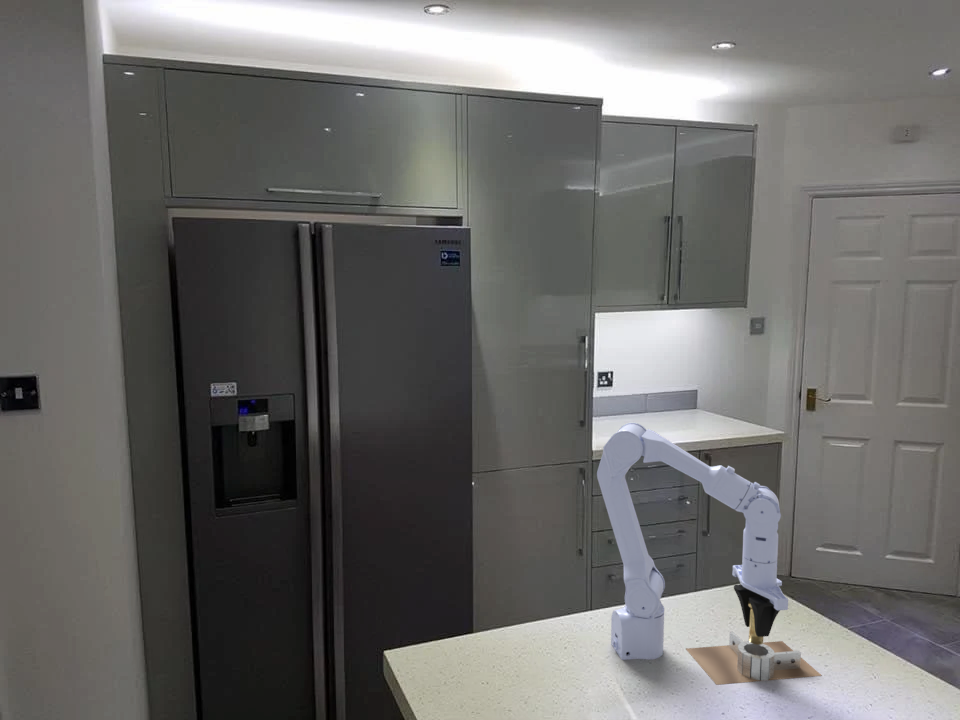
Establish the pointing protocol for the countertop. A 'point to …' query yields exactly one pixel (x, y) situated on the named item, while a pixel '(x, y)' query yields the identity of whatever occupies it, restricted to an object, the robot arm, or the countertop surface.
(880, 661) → the countertop surface
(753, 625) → the brass cabinet knob
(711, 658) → the walnut board
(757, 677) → the grey winged collar
